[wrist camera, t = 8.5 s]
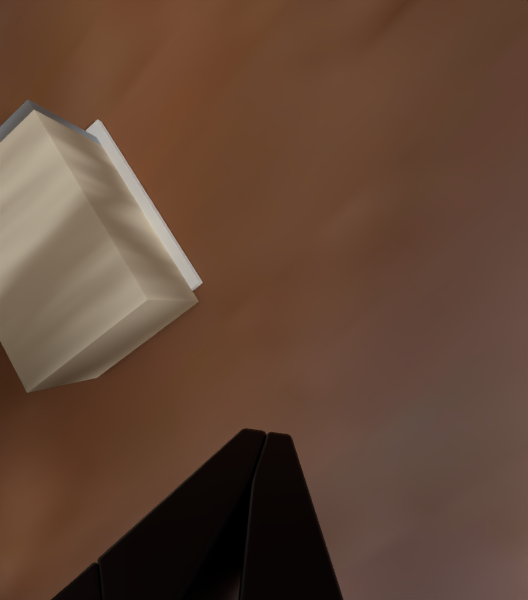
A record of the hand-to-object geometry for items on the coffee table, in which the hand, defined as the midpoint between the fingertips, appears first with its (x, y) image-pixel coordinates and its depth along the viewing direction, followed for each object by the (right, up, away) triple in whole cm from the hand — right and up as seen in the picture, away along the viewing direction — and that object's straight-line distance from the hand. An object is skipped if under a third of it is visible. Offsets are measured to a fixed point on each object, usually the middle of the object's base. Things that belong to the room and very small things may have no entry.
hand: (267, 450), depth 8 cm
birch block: (-6, +1, +10) cm, 12 cm away
